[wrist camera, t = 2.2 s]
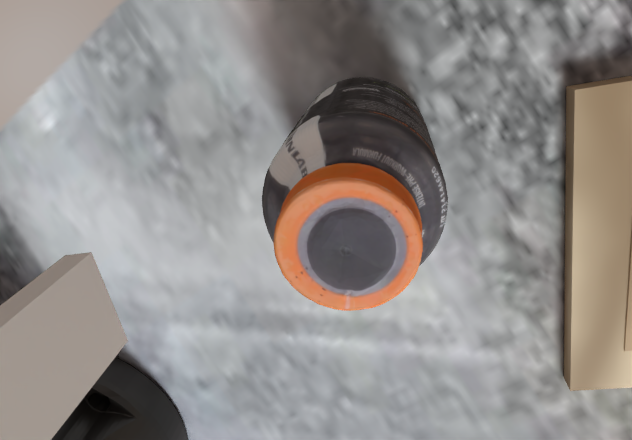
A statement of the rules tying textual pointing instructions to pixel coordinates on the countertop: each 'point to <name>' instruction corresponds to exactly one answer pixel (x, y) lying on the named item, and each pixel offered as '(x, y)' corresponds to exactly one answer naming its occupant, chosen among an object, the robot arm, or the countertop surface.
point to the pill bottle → (355, 196)
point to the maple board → (598, 235)
